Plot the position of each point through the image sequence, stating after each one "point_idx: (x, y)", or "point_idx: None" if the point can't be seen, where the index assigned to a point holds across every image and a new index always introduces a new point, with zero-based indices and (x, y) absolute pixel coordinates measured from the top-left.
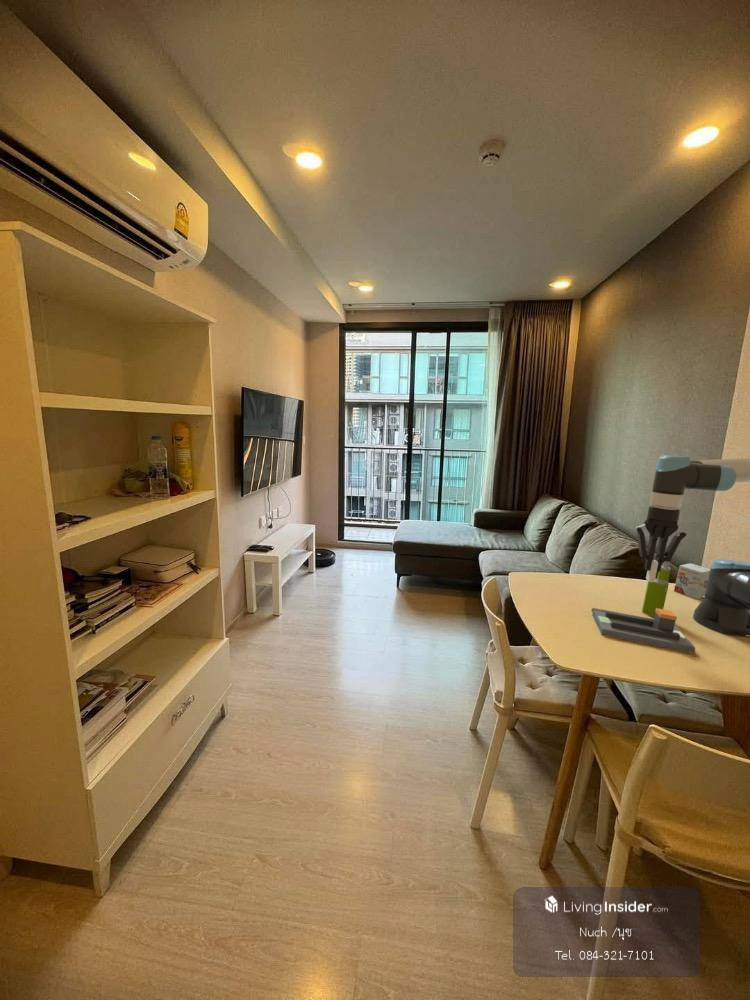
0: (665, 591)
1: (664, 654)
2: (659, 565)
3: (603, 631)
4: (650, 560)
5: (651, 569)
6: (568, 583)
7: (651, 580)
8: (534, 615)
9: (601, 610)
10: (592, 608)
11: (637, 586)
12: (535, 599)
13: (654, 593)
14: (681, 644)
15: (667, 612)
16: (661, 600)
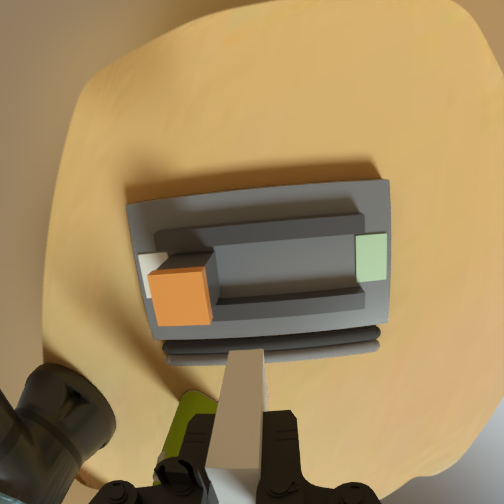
0: (164, 452)
1: (214, 143)
2: (193, 455)
3: (382, 179)
4: (279, 478)
5: (258, 411)
6: (381, 469)
7: (247, 357)
8: None
9: (354, 347)
10: (378, 346)
11: None
12: (500, 324)
13: None
14: (158, 201)
15: (174, 301)
16: (177, 428)
